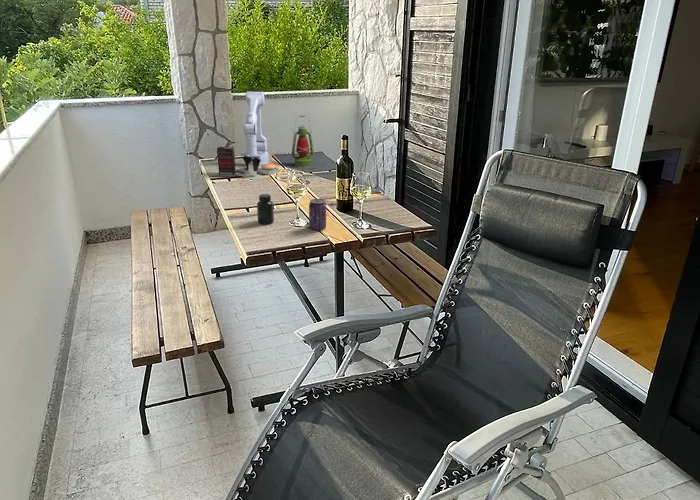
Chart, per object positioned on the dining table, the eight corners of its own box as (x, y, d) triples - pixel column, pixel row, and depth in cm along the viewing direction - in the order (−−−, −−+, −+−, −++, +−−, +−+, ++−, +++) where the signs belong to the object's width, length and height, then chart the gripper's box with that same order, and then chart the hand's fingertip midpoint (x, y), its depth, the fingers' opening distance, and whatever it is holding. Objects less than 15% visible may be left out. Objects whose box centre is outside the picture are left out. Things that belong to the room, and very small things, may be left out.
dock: (245, 169, 312) (244, 166, 311) (257, 172, 306) (257, 169, 306) (232, 172, 304) (232, 169, 303) (245, 175, 299) (245, 172, 298)
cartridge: (252, 172, 298) (252, 161, 295) (258, 174, 296) (257, 162, 293) (247, 174, 294) (246, 163, 292) (252, 175, 292) (252, 164, 290)
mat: (252, 174, 301) (252, 173, 301) (264, 177, 297) (264, 176, 297) (241, 177, 295) (241, 176, 294) (253, 180, 290) (253, 179, 290)
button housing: (268, 170, 310) (268, 165, 308) (278, 173, 305) (278, 167, 304) (259, 173, 303) (258, 168, 302) (269, 175, 299) (269, 170, 298)
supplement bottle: (264, 218, 233) (263, 192, 228) (277, 221, 230) (276, 195, 225) (254, 223, 228) (253, 196, 223) (267, 226, 224) (266, 199, 220)
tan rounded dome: (268, 170, 310) (268, 163, 308) (279, 172, 305) (279, 165, 304) (258, 172, 303) (258, 165, 302) (269, 175, 299) (269, 168, 297)
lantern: (312, 163, 329) (311, 113, 317) (316, 167, 319) (316, 116, 308) (290, 164, 325) (288, 114, 313) (293, 168, 316) (292, 117, 304)
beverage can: (309, 225, 226) (308, 198, 222) (325, 225, 227) (325, 198, 222) (309, 231, 220) (309, 203, 215) (326, 230, 220) (326, 203, 216)
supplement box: (236, 174, 300) (234, 146, 294) (233, 176, 296) (231, 148, 290) (221, 174, 301) (219, 146, 295) (218, 176, 297) (216, 147, 290)
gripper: (236, 145, 290) (238, 169, 295) (255, 148, 282) (257, 173, 287) (245, 143, 295) (247, 167, 300) (265, 146, 288) (266, 171, 293)
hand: (252, 170), depth 294 cm, fingers closed on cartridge, 4 cm apart
